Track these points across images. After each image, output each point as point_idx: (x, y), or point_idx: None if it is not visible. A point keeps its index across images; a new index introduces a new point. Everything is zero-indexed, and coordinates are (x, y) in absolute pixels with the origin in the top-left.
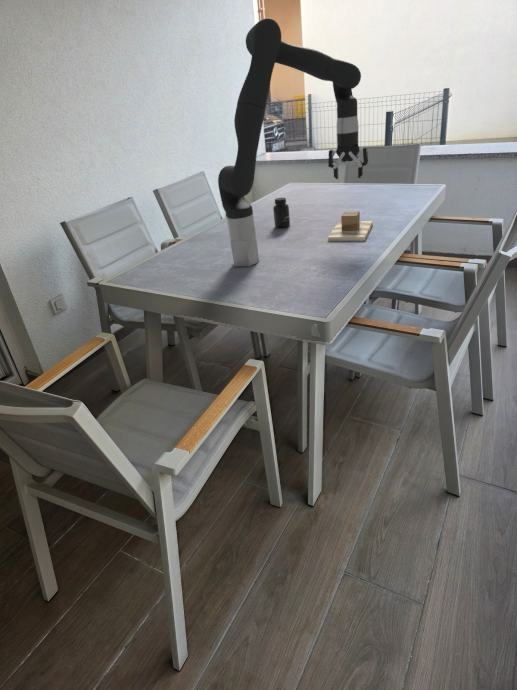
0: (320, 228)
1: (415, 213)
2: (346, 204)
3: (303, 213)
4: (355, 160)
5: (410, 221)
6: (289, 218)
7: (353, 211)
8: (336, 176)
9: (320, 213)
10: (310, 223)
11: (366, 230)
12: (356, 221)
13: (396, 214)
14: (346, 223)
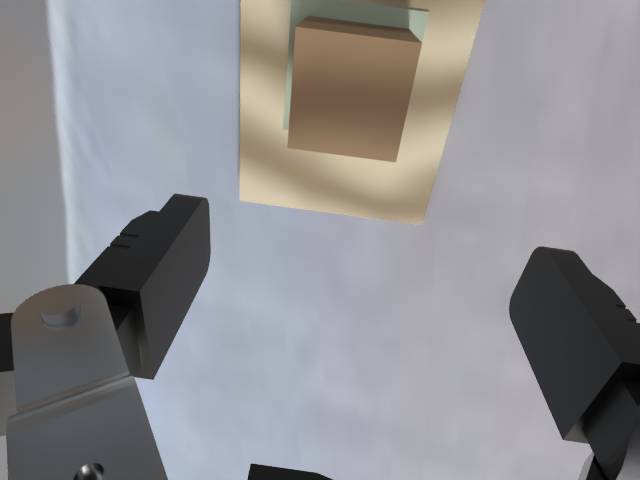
0: (525, 183)
1: None
2: (381, 456)
3: None
4: (98, 428)
5: (73, 207)
6: None
7: (330, 150)
8: (569, 264)
9: (496, 390)
10: None
11: (250, 21)
12: (304, 21)
13: None
14: (378, 30)
